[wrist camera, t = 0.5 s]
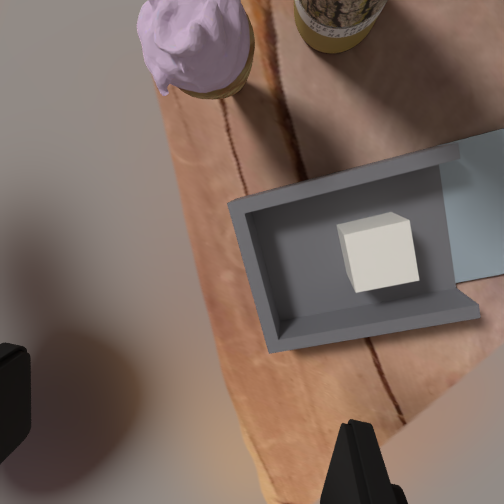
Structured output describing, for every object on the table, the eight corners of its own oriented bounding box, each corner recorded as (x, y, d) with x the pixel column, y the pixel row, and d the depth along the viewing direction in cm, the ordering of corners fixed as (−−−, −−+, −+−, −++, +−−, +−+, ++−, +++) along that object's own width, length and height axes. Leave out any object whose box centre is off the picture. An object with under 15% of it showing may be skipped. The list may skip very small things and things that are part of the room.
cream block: (391, 211, 30) (409, 220, 25) (400, 263, 31) (419, 280, 26) (336, 224, 31) (343, 235, 26) (346, 274, 32) (355, 292, 27)
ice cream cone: (224, 139, 31) (162, 113, 17) (181, 84, 30) (77, 7, 16) (281, 88, 29) (266, 10, 15) (237, 29, 29) (176, -113, 14)
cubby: (522, 123, 28) (564, 114, 23) (536, 282, 30) (576, 301, 26) (236, 198, 32) (227, 203, 28) (272, 330, 35) (269, 353, 31)
